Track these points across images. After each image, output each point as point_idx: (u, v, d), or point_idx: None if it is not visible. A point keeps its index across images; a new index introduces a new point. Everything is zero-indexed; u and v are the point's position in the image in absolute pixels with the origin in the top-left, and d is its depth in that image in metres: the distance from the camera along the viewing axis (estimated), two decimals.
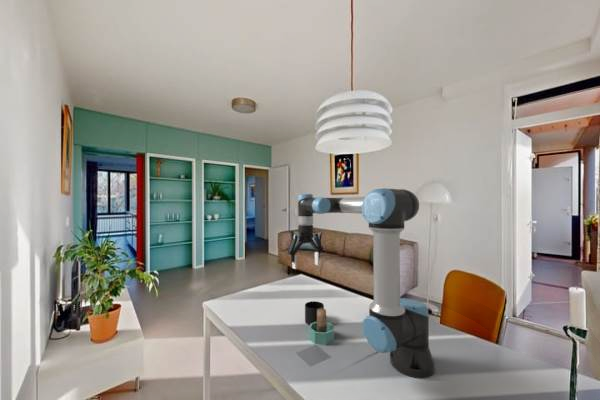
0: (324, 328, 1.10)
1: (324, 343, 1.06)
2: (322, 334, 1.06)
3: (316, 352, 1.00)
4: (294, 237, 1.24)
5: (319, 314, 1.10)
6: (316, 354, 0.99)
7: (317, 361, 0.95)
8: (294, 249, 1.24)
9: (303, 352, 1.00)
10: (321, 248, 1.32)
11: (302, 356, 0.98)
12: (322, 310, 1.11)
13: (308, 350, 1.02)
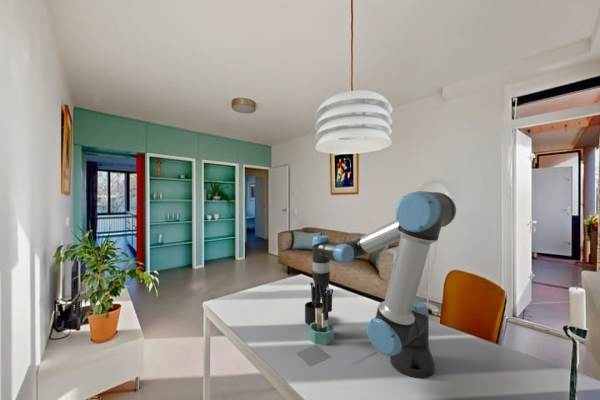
0: (324, 327, 1.10)
1: (324, 343, 1.06)
2: (322, 334, 1.06)
3: (316, 352, 1.00)
4: None
5: (319, 313, 1.10)
6: (316, 354, 0.99)
7: (317, 361, 0.95)
8: None
9: (303, 352, 1.00)
10: (326, 309, 1.07)
11: (302, 356, 0.98)
12: (322, 309, 1.11)
13: (308, 350, 1.02)
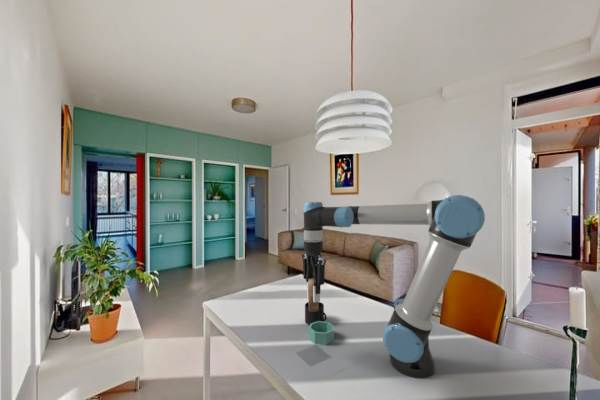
0: None
1: (324, 343, 1.06)
2: (322, 334, 1.06)
3: (316, 352, 1.00)
4: None
5: (310, 283, 0.99)
6: (316, 354, 0.99)
7: (317, 361, 0.95)
8: None
9: (303, 352, 1.00)
10: (317, 281, 0.96)
11: (302, 356, 0.98)
12: None
13: (308, 350, 1.02)
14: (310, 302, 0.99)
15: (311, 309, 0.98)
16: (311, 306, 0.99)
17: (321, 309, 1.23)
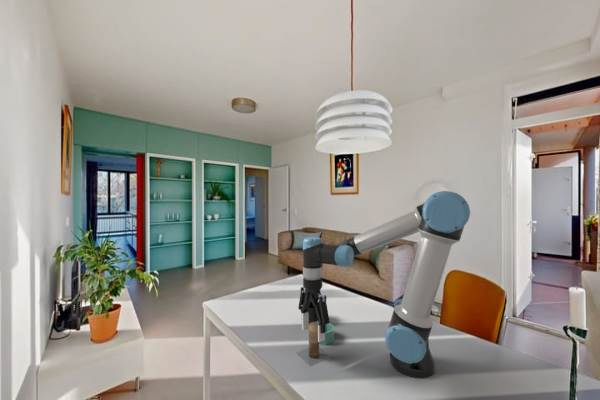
0: (317, 345, 0.97)
1: (324, 343, 1.06)
2: None
3: None
4: None
5: (311, 329, 0.96)
6: None
7: (317, 361, 0.95)
8: None
9: (303, 352, 1.00)
10: (322, 321, 0.92)
11: (302, 356, 0.98)
12: (315, 324, 0.98)
13: (308, 350, 1.02)
14: (310, 348, 0.97)
15: (311, 355, 0.96)
16: (311, 352, 0.96)
17: None
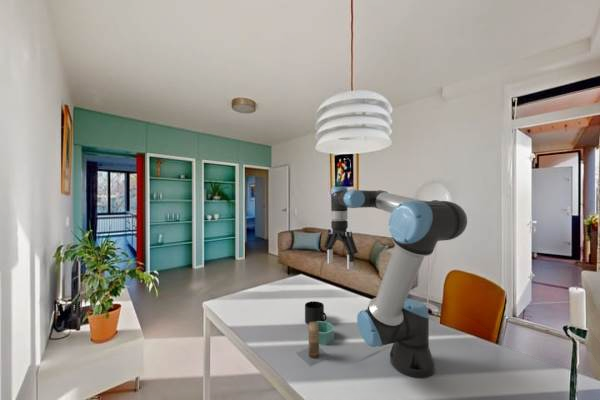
0: (316, 344, 0.97)
1: (324, 343, 1.06)
2: (322, 334, 1.06)
3: None
4: None
5: (311, 328, 0.97)
6: None
7: (317, 361, 0.95)
8: None
9: (303, 352, 1.00)
10: (351, 250, 1.10)
11: (302, 356, 0.98)
12: (314, 324, 0.98)
13: (308, 350, 1.02)
14: (310, 348, 0.97)
15: (311, 355, 0.96)
16: (311, 352, 0.96)
17: (321, 309, 1.23)
